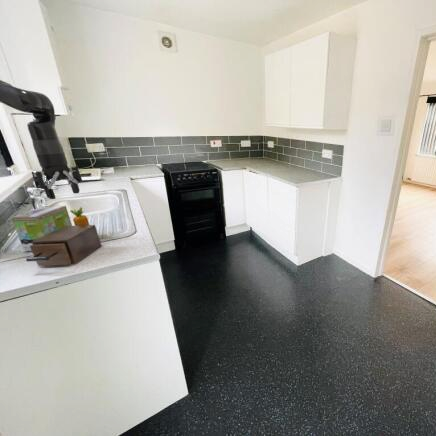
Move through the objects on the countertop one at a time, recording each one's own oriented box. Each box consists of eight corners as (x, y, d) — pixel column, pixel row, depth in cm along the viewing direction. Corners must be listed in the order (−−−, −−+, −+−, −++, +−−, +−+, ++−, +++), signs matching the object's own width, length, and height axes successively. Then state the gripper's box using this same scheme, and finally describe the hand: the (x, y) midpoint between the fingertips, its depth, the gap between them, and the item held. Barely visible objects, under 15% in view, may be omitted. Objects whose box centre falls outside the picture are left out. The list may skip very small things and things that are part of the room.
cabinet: (75, 264, 89) (66, 240, 85) (41, 265, 88) (31, 241, 85) (101, 246, 102) (95, 224, 99) (72, 247, 102) (64, 226, 98)
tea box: (52, 250, 100) (38, 215, 94) (23, 252, 98) (8, 217, 93) (76, 235, 113) (66, 204, 108) (52, 236, 112) (40, 206, 107)
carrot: (78, 243, 105) (66, 210, 100) (82, 239, 109) (71, 207, 104) (92, 241, 107) (81, 208, 102) (95, 237, 111) (85, 205, 106)
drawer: (57, 272, 82) (49, 251, 79) (24, 273, 81) (15, 252, 79) (94, 247, 99) (89, 229, 97) (67, 248, 99) (61, 230, 96)
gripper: (63, 150, 96) (76, 191, 101) (18, 154, 83) (35, 200, 88) (78, 150, 94) (90, 192, 100) (34, 154, 81) (51, 201, 87)
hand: (64, 195), depth 94 cm, fingers open, 8 cm apart
